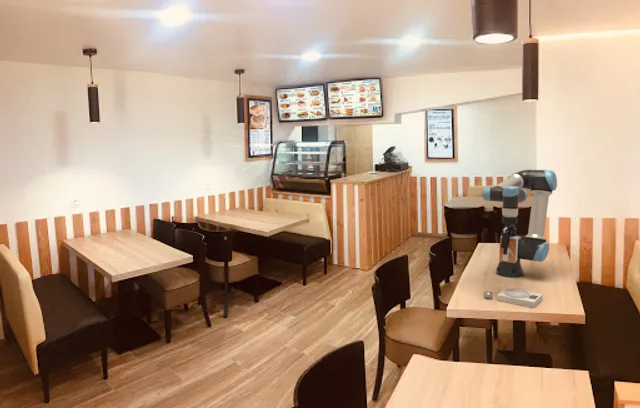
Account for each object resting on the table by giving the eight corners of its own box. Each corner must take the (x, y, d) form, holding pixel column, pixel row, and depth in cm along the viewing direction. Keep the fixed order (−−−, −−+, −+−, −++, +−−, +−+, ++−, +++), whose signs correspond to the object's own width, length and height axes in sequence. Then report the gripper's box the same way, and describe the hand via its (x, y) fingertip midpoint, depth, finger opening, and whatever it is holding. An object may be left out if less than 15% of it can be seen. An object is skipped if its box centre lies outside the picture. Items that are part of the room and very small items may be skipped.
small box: (498, 261, 239) (499, 237, 238) (501, 258, 245) (502, 235, 243) (515, 263, 235) (516, 238, 233) (517, 260, 240) (518, 236, 239)
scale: (497, 300, 236) (497, 293, 235) (506, 292, 246) (507, 285, 245) (533, 308, 224) (534, 300, 223) (542, 299, 234) (542, 292, 233)
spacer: (485, 296, 243) (485, 290, 242) (494, 297, 240) (494, 292, 239) (482, 298, 240) (482, 292, 239) (490, 300, 237) (491, 294, 236)
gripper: (510, 213, 246) (508, 254, 249) (494, 217, 232) (493, 261, 235) (524, 214, 241) (522, 256, 244) (509, 219, 227) (508, 263, 230)
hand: (508, 258), depth 240 cm, fingers closed on small box, 7 cm apart
